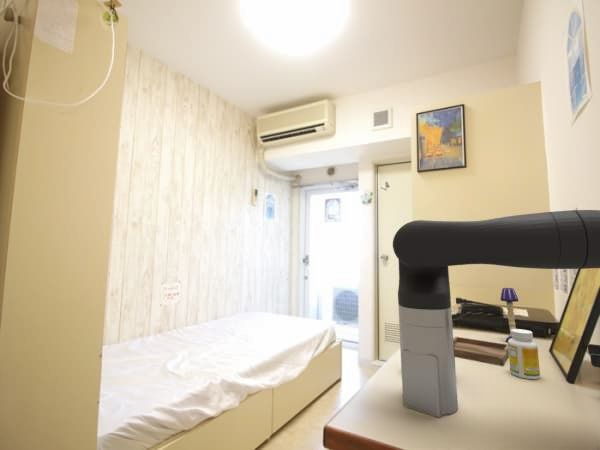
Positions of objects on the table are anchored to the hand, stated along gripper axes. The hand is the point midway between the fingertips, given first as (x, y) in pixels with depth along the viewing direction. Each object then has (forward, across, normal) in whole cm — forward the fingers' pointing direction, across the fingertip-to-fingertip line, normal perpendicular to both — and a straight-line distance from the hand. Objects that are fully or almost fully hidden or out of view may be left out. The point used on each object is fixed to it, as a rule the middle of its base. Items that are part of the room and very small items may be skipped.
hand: (589, 354), depth 59 cm
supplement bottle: (+11, 0, +7) cm, 13 cm away
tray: (+22, -11, +6) cm, 26 cm away
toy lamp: (+16, -30, +7) cm, 35 cm away
